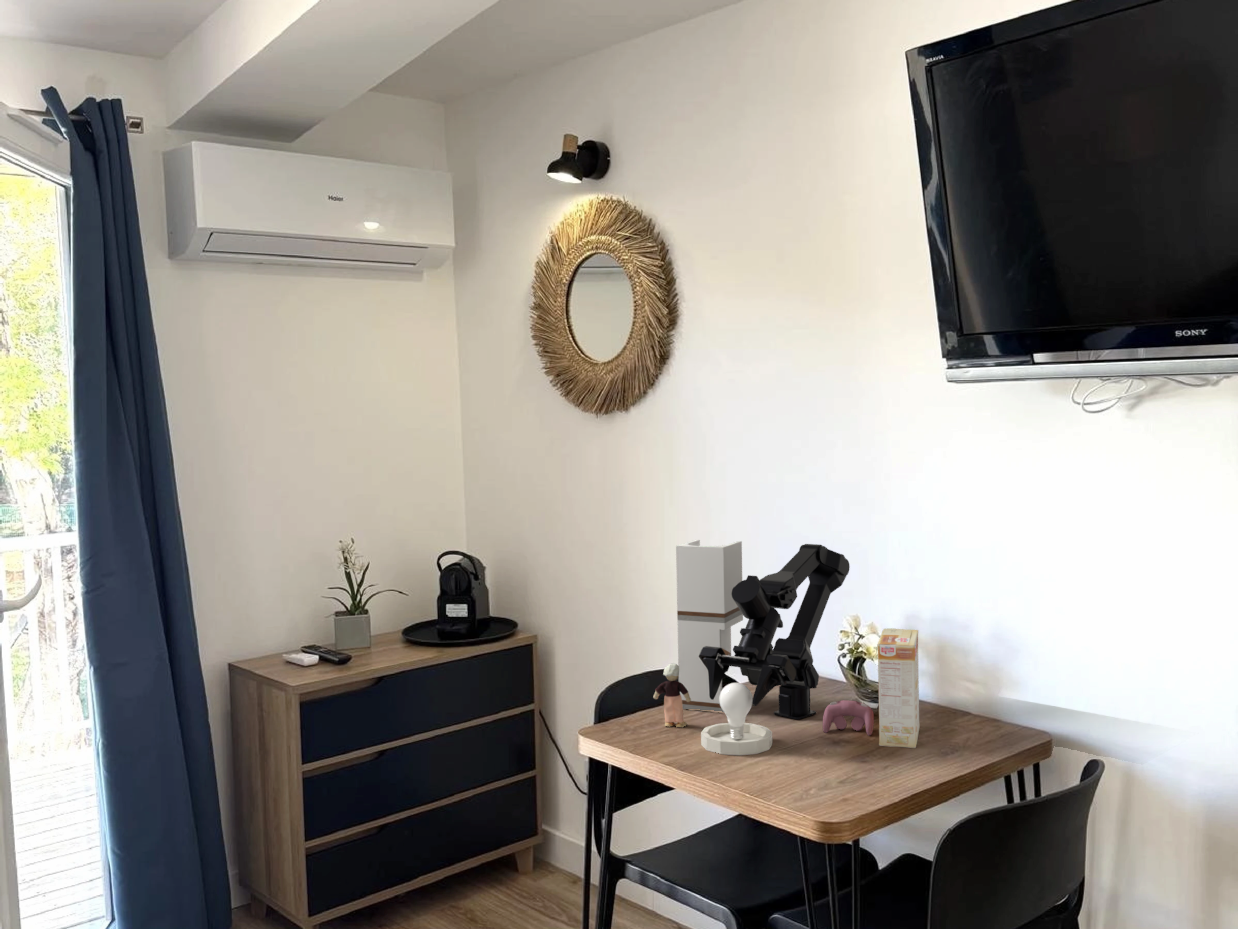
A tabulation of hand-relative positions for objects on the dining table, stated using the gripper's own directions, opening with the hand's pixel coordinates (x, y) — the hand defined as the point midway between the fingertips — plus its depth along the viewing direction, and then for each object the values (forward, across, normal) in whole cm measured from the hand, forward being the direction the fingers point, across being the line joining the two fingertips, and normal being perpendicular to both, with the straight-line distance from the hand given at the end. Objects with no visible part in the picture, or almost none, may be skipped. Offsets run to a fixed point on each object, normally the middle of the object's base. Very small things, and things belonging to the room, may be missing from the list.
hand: (732, 701), depth 212 cm
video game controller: (-8, -14, -21) cm, 27 cm away
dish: (+5, 0, -7) cm, 9 cm away
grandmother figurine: (+2, +17, -10) cm, 20 cm away
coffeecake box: (-10, -24, -22) cm, 34 cm away
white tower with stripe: (-11, +19, -23) cm, 32 cm away
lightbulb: (+5, 0, -7) cm, 8 cm away
